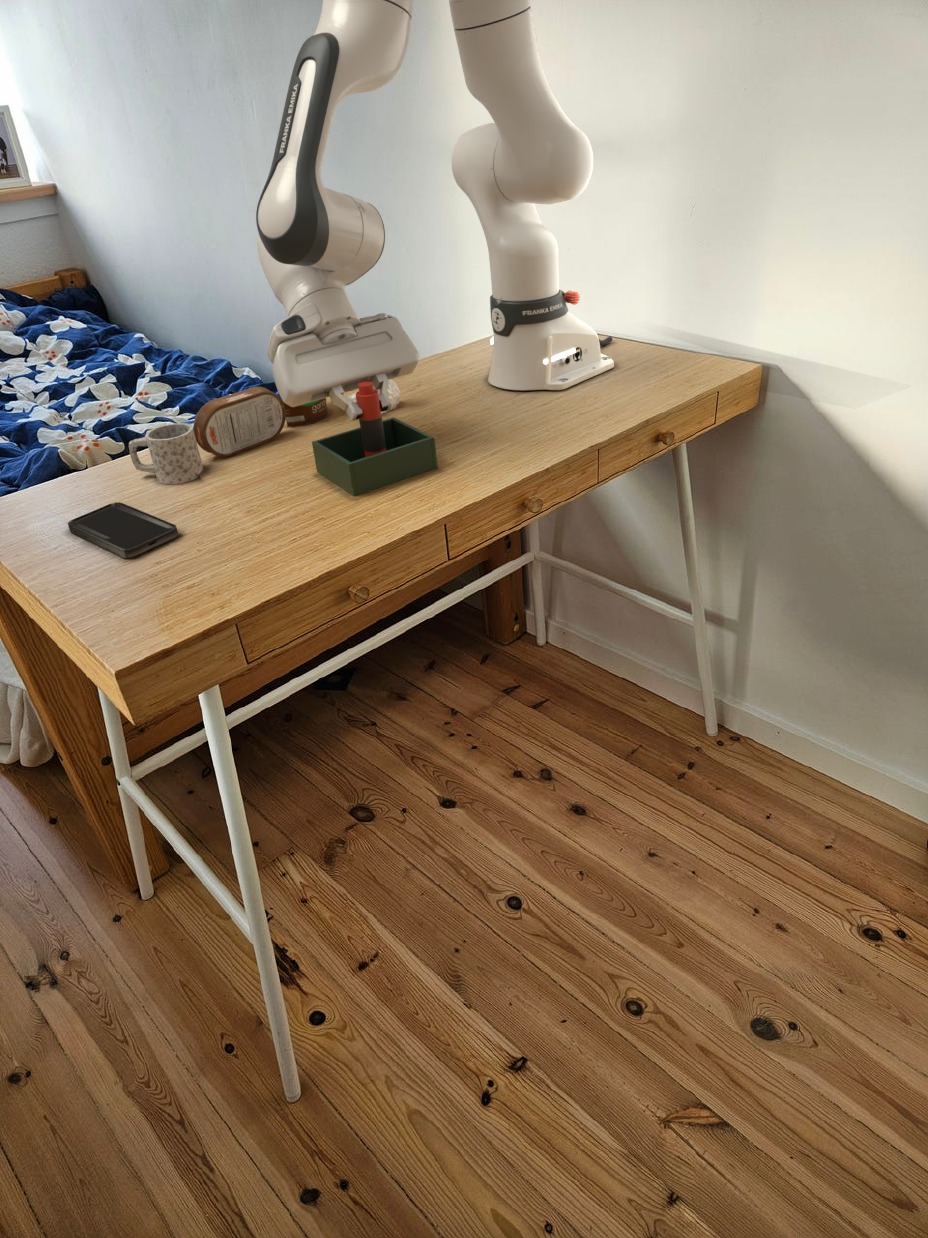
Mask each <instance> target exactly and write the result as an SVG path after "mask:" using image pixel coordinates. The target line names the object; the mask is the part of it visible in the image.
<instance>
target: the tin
mask: <svg viewBox="0 0 928 1238" xmlns="http://www.w3.org/2000/svg"><path fill="white" fill-rule="evenodd" d="M285 425H286V413H285V406H284V403H283V401H282V399H281V398H280V395H278V394H277V393H275V392H273V391H271V390H270V389H268V388H266V387H263V386H253V387H250V388H247V389H244V390H240V391H237V392H234V393H232V394H227V395H224V396H221V397H219V398H215V399H212V400H209V401H208V402H206V403H205V404H204V405H202V406H201V407H200V409H199V410H198V412H197V413H196V415H195V418H194V421H193V430H194V434H195V438H196V442H197V446H198V447H199V448H201V449H202V450H203V451H205V452H206V453H209V454H212V455H214V456H216V457H223V458H227V457H230V456H234V455H236V454H240V453H242V452H244V451H247V450H250V449H253V448H256V447H258V446H261V445H265V444H266V443H270V442H271V441H273V440H275V439H276V438H277V437H278V436H279V435H280V434H281V433H282V432H283V429H284V426H285Z"/></svg>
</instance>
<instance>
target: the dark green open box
mask: <svg viewBox="0 0 928 1238" xmlns="http://www.w3.org/2000/svg"><path fill="white" fill-rule="evenodd" d="M382 421H383V429H384V436H385V443H386V451H384V452H381V453H378V454H375V455H372V456H369V457H365V453H364V448H363V442H362V435H361V429H360V427H356V428H354V429H353V428H352V429H349V430H347V431H343V432H340V433H337V434H336V433H335V434H333V435H330V436H326V437H323V438H320V439H317V440H312V441H311V446H312V451H313V456H314V463H315V468H316V472H317V473H318V474H319V475H320V476H322V477H323V478H325V479H327V480H328V481H329V482H330V483H333V484H334V485H336V486H338V488H340V489H341V490H343V491H344V492H346V493H348V494H349V495H350V496H352V497H358V496H360V495H363V494H366V493H369V492H372V491H376V490H379V489H380V488H381V489H382V488H384V487H386V486H390V485H392V484H393V485H394V484H395V483H398V482H402V481H404V480H405V481H406V480H408V479H410V478H413V477H416V476H420V475H423V474H426V473H428V472H431V471H434V470H437V469H439V468H438V458H437V449H436V448H437V447H436V439H435V436H432V435H431V434H428V432H427V433H426V432H424V431H423V430H421V429H418V428H416V427H414V426H412V425H410V424H408V423H407V422H405V421H402V420H400V419H398V418H396V417H394V416H393V417H390V418H387V419H382Z"/></svg>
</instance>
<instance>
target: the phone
mask: <svg viewBox="0 0 928 1238" xmlns="http://www.w3.org/2000/svg"><path fill="white" fill-rule="evenodd" d="M67 526H68V529H69V532H70V533H72V534H73V535H75V536H78V537H80V538H81V539H83V540H86V541H88V542H89V543H91V544H94V545H96V546H98V547H100V548H102V549H103V550H107V551H108V552H111V553H113V554H114V555H117V556H119V557H121V558H123V559H132V558H136V557H138V556H140V555H142V554H144V553H146V552H148V551H151V550H153V549H156V548H157V547H160V546H161V545H164V544H166V543H168V542H170V541H172V540H174V539H176V538H178V537H179V535H180V534H179V530H178V529H177V525H176V524H173V523H171V522H169V521H167V520H164V519H162V518H159V517H157V516H154V515H152V514H150V513H147V512H145V511H143V510H140V509H138V508H136V507H133V506H131V505H128V504H125V503H123V502H120V501H119V502H118V501H117V502H112V503H109V504H106V505H104V506H101V507H99V508H97V509H93V510H92V511H89V512H87V513H84V514H83V515H81V516H78V517H75V518H73V519H71V520H69V521H68V522H67Z"/></svg>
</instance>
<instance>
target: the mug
mask: <svg viewBox="0 0 928 1238" xmlns="http://www.w3.org/2000/svg"><path fill="white" fill-rule="evenodd" d="M193 428H194V426H193V425H192V424H189V423H185V422H177V423H168V424H164V425H160V426H159V425H158V426H156V427H154V428H152V429H150V430H149V431H147V432H146V433H145V436H143V437H139V438H134V439H132V440H130V441H129V442H128V450H129V456H130V459H131V462H132V464H133V467H134V468H135V470H137V471H140V472H145V473H150V474H155V475H156V479H157V481H158V483H161V484H164V485H179V484H180V485H181V484H185V483H188V482H192V481H194V480H196V479H198V478H200V475H199V474H201V473H202V472H203V470H204V466H203V461H202V458H201V453H200V450H199V445H198V443H197V442H196V438H195V434H194V429H193ZM138 447H148V452H149V454H150V459H151V461H152V463H150V464H144V463H142V462H141V460H140V459H139V458H140V457H139V455H138V451H137V450H138V449H137V448H138Z"/></svg>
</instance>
